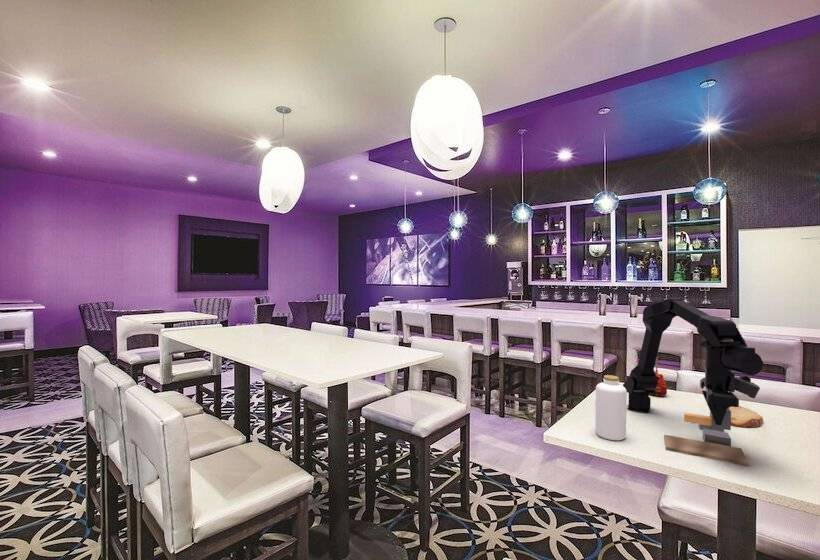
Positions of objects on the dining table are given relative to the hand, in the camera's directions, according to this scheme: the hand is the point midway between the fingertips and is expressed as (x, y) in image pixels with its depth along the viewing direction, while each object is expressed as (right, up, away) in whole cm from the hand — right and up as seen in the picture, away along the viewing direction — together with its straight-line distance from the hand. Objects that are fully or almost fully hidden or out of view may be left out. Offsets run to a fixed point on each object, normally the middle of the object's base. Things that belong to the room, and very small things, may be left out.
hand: (717, 422), depth 108 cm
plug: (-2, -1, +1) cm, 3 cm away
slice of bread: (+28, -9, +27) cm, 40 cm away
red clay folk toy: (+16, -8, +53) cm, 56 cm away
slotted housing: (+8, -8, +12) cm, 17 cm away
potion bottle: (-24, -8, +11) cm, 27 cm away
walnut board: (-3, -8, +2) cm, 9 cm away
